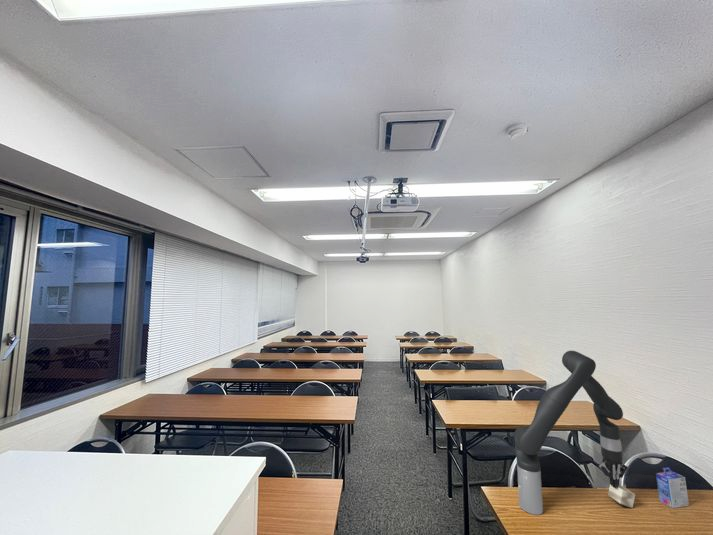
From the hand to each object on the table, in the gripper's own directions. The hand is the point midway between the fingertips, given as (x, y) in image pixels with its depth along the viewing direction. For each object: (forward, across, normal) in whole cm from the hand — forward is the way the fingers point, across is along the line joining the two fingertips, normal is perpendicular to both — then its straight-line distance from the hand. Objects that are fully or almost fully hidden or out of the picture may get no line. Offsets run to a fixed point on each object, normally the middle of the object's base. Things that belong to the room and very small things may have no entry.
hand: (614, 486), depth 134 cm
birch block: (+6, +2, 0) cm, 7 cm away
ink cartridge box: (+8, +27, -1) cm, 28 cm away
